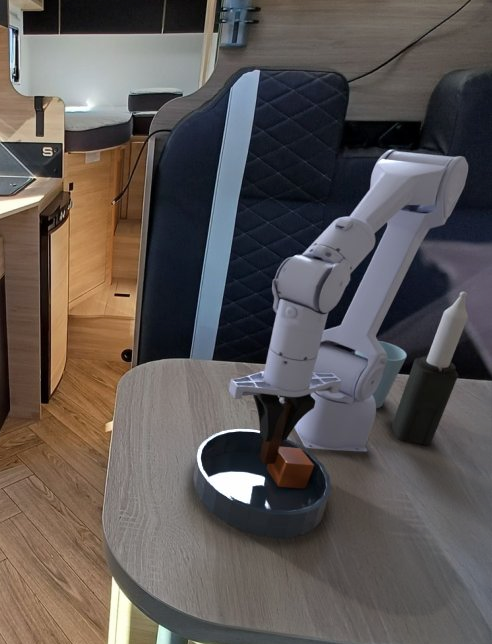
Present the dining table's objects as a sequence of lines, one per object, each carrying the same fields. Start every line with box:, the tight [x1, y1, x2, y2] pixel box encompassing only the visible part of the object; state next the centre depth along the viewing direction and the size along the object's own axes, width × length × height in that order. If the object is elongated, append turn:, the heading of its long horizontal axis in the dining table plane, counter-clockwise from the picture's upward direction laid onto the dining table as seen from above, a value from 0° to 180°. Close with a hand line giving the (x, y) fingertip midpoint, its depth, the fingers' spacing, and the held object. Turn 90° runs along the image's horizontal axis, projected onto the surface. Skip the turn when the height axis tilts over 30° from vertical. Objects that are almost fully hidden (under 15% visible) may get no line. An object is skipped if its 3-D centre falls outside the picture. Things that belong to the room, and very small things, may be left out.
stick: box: [259, 396, 292, 464], centre depth 71 cm, size 2×2×10 cm
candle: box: [391, 291, 469, 447], centre depth 79 cm, size 5×5×25 cm
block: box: [267, 447, 314, 489], centre depth 73 cm, size 4×4×4 cm
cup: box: [354, 340, 408, 409], centre depth 92 cm, size 8×8×10 cm
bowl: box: [192, 428, 332, 539], centre depth 71 cm, size 17×17×4 cm
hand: (272, 436), depth 72 cm, fingers closed on stick, 2 cm apart
